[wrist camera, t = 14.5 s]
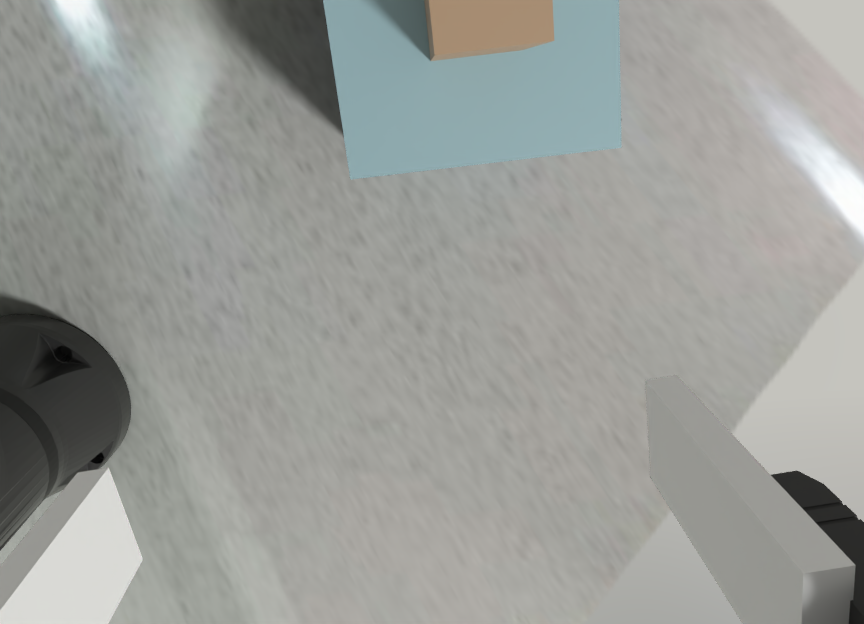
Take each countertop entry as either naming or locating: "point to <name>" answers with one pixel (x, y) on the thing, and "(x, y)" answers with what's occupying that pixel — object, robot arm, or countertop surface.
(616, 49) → the pale blue storage box
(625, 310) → the countertop surface
